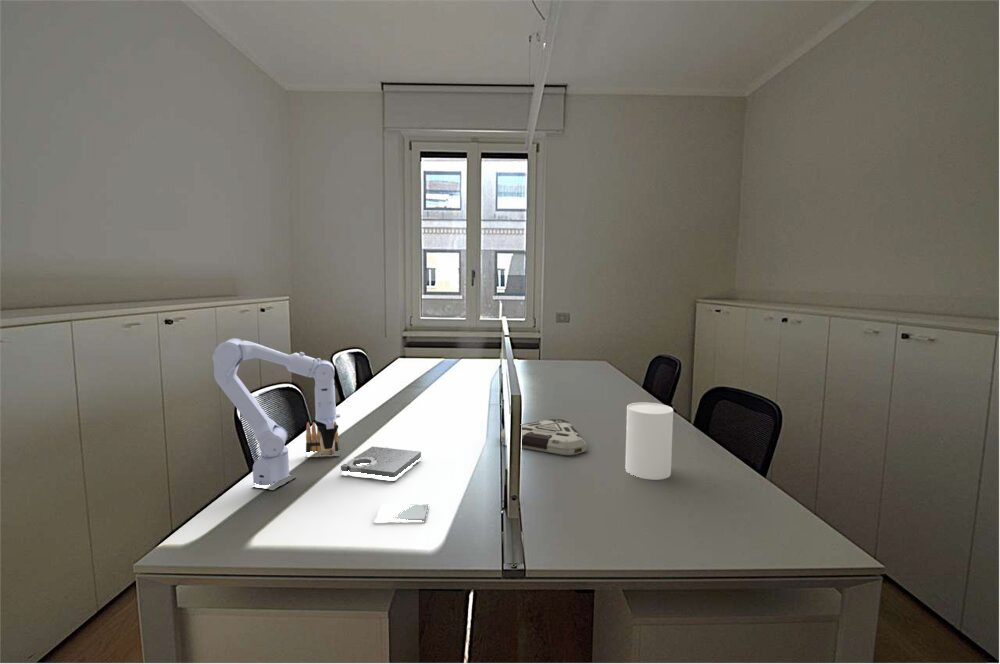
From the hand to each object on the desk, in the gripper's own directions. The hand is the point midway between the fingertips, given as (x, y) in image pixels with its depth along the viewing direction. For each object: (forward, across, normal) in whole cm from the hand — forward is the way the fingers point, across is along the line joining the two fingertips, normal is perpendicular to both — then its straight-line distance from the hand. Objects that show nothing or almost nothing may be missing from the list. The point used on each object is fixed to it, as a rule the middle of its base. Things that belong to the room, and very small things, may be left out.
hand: (327, 446), depth 146 cm
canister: (+10, -44, -88) cm, 98 cm away
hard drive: (+10, -35, -12) cm, 38 cm away
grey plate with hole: (+9, -1, -16) cm, 19 cm away
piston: (+2, 0, 0) cm, 2 cm away
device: (+10, -4, -78) cm, 78 cm away
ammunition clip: (+10, +18, -1) cm, 21 cm away
